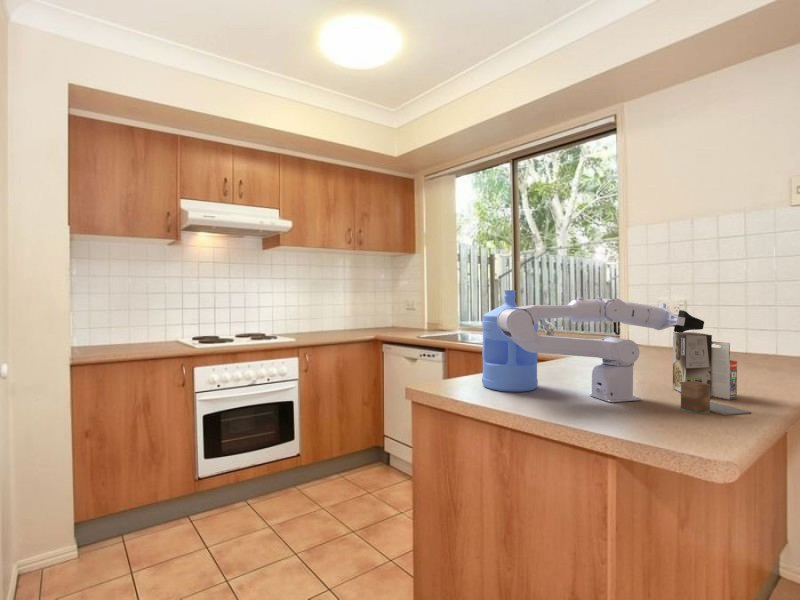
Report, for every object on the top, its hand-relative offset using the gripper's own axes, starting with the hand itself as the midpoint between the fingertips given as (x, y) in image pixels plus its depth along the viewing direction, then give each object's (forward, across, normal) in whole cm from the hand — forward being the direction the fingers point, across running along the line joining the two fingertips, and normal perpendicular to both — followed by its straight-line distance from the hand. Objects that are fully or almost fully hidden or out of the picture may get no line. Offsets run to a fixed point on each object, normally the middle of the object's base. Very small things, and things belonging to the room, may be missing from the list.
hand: (691, 323), depth 118 cm
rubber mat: (+1, -12, +19) cm, 23 cm away
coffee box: (+7, +4, +19) cm, 20 cm away
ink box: (+11, 0, +18) cm, 21 cm away
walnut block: (-5, -14, +20) cm, 25 cm away
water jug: (-40, +15, +27) cm, 50 cm away
